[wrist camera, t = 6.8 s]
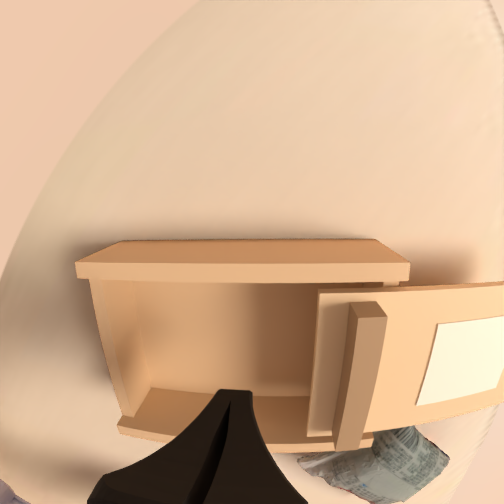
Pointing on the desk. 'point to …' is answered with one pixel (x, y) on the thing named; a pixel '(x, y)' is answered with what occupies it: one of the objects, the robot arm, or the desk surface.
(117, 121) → the desk surface
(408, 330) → the lid
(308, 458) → the packaged food
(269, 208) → the desk surface
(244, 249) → the light brown rectangular box
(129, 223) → the desk surface
